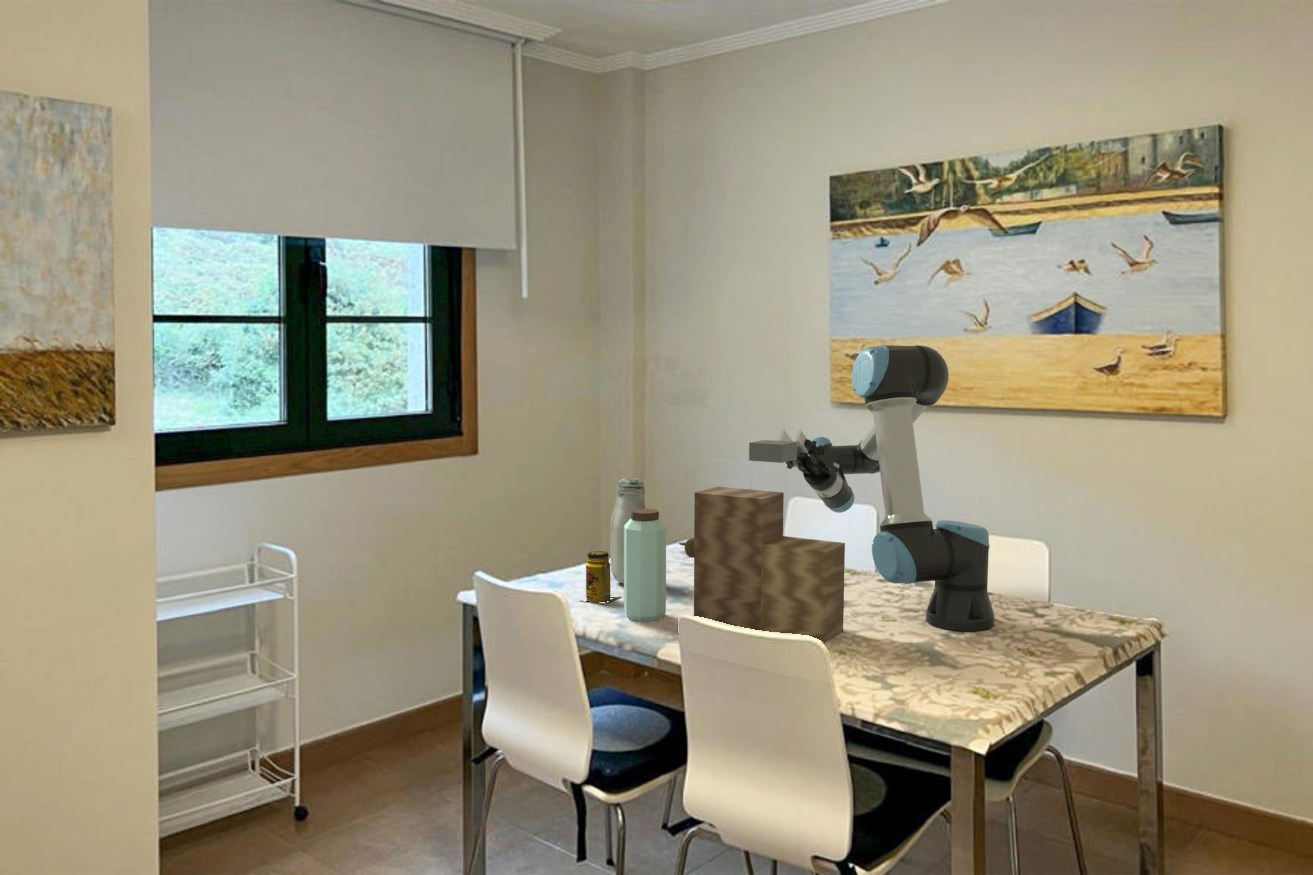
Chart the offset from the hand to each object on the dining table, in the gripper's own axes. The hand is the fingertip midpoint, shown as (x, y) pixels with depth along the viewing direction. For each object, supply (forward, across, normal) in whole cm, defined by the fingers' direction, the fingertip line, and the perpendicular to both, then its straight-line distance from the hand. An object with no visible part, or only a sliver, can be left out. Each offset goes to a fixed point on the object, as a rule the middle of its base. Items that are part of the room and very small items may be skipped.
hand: (789, 435), depth 251 cm
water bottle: (-8, +29, -45) cm, 54 cm away
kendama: (-66, +48, -10) cm, 82 cm away
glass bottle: (-30, +50, -32) cm, 66 cm away
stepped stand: (-14, +1, -42) cm, 44 cm away
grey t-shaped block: (0, 0, -5) cm, 5 cm away
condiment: (-15, +47, -41) cm, 64 cm away
